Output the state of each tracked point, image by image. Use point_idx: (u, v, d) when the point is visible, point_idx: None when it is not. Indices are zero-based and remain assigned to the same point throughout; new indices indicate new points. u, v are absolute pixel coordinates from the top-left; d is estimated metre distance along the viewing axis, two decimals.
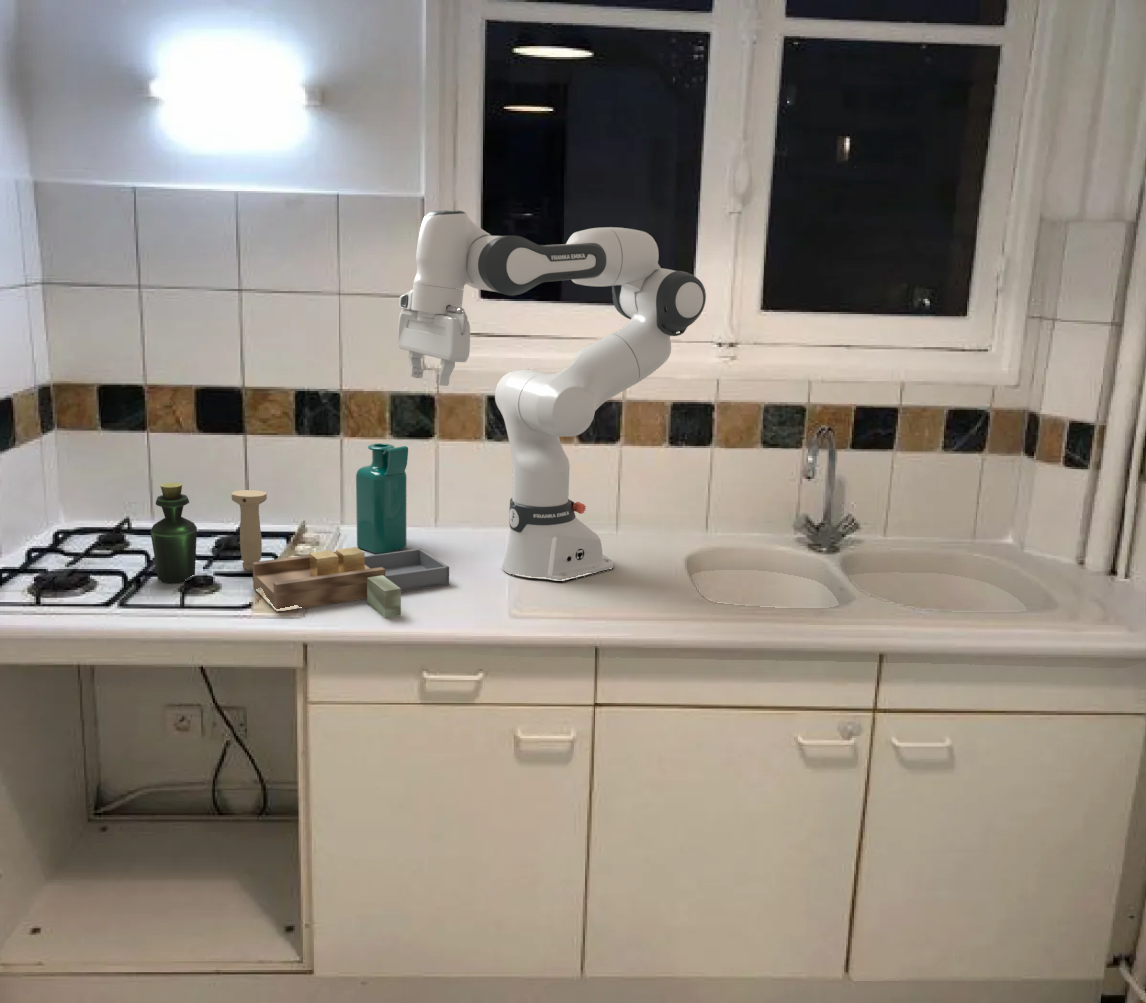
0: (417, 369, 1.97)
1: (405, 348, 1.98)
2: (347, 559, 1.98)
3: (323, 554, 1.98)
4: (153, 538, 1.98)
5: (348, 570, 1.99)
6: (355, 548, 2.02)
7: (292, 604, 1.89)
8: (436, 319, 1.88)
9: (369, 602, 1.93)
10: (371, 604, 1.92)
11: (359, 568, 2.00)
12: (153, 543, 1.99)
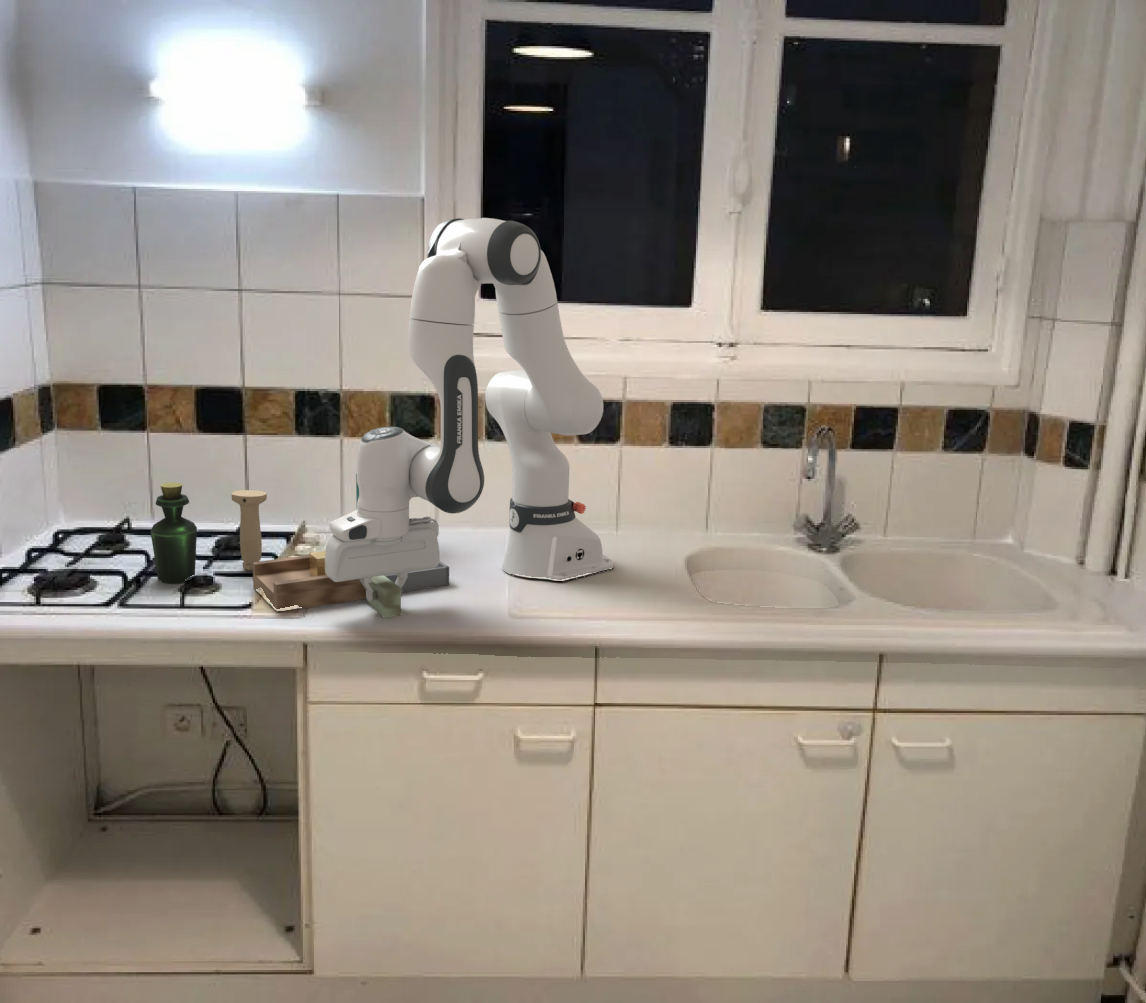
0: (376, 591, 1.89)
1: (350, 579, 1.85)
2: None
3: (323, 554, 1.98)
4: (153, 538, 1.98)
5: None
6: None
7: (292, 604, 1.89)
8: (406, 536, 1.88)
9: (369, 601, 1.93)
10: (371, 603, 1.92)
11: None
12: (153, 543, 1.99)
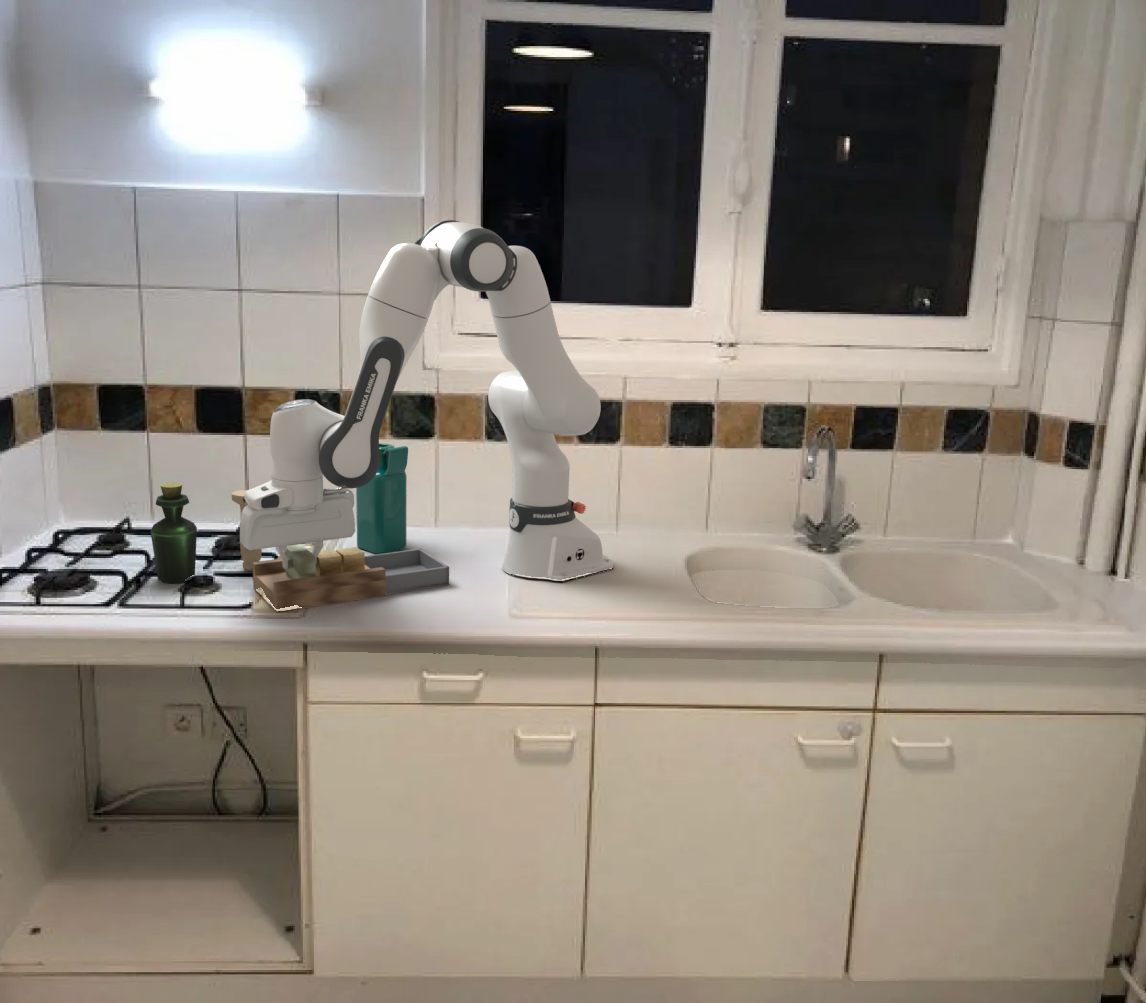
0: None
1: (264, 547, 1.89)
2: (347, 559, 1.98)
3: (326, 553, 1.98)
4: (153, 538, 1.98)
5: (348, 570, 1.99)
6: (355, 548, 2.02)
7: (292, 604, 1.89)
8: (321, 506, 1.93)
9: (287, 570, 1.98)
10: (288, 572, 1.97)
11: (359, 568, 2.00)
12: (153, 543, 1.99)
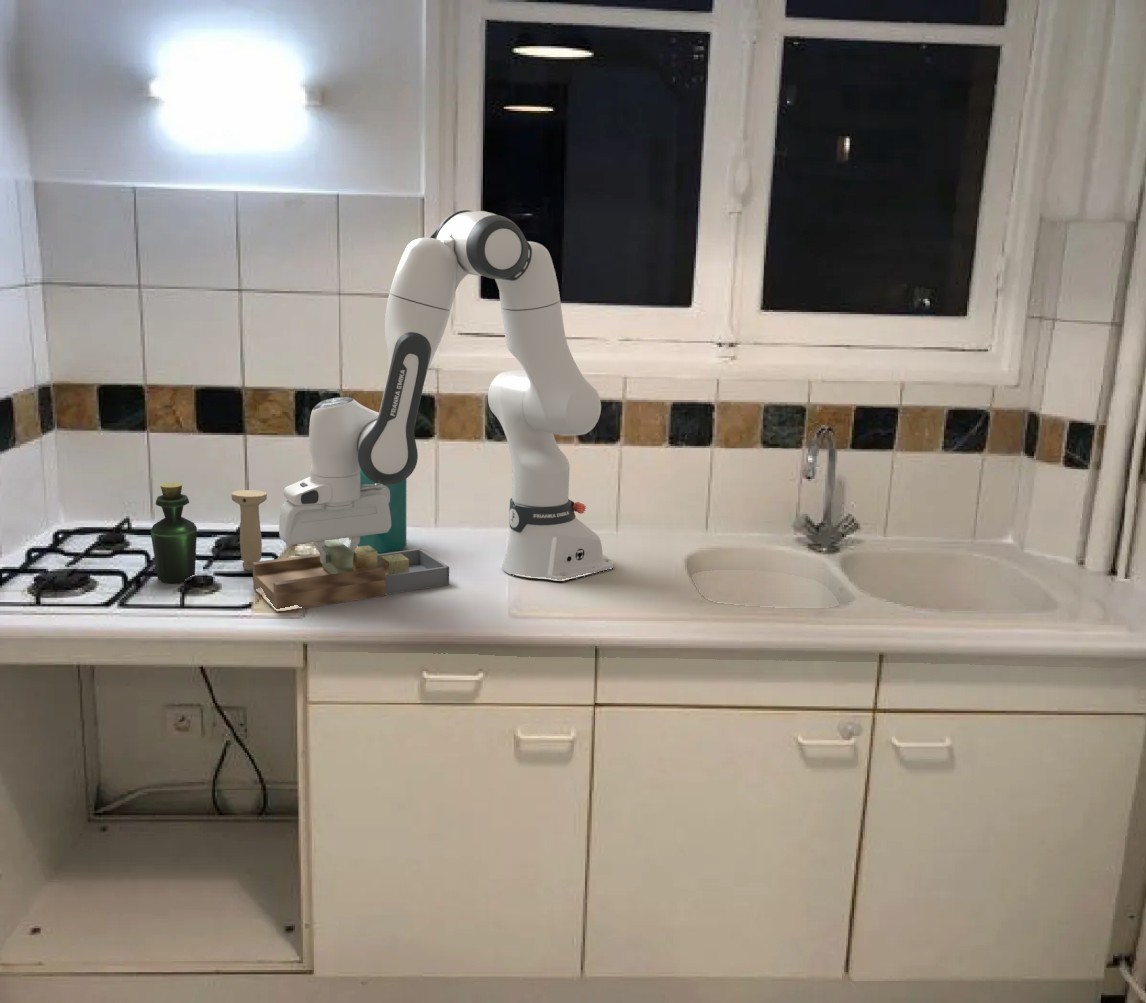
0: (329, 554, 1.98)
1: (303, 542, 1.93)
2: (404, 563, 2.04)
3: (362, 548, 2.02)
4: (153, 538, 1.98)
5: (394, 565, 2.03)
6: None
7: (292, 604, 1.89)
8: (358, 502, 1.97)
9: (324, 565, 2.01)
10: (325, 567, 2.00)
11: None
12: (153, 543, 1.99)
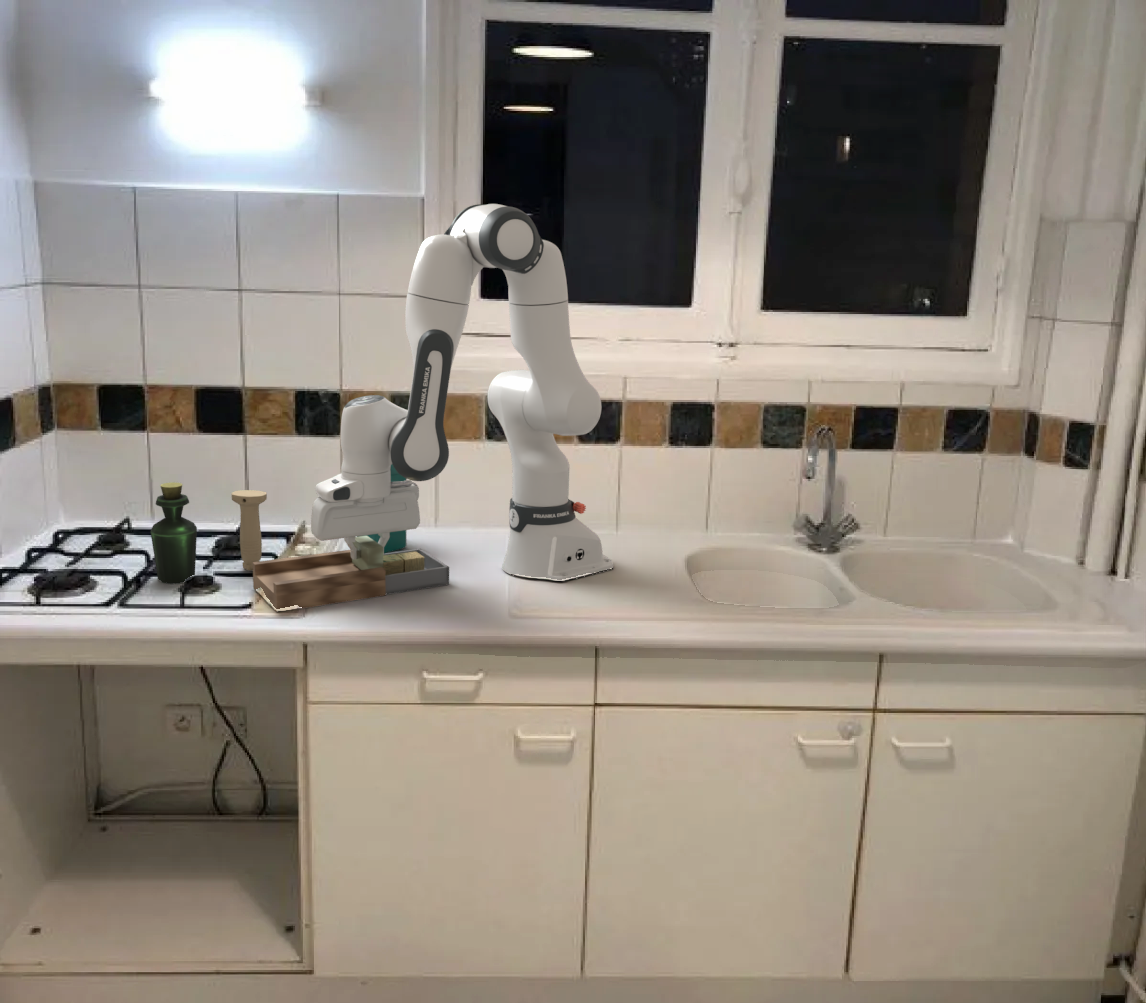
0: None
1: (334, 538, 1.96)
2: (420, 560, 2.06)
3: (388, 557, 2.05)
4: (153, 538, 1.98)
5: (409, 563, 2.05)
6: None
7: (292, 604, 1.89)
8: (388, 498, 2.00)
9: (354, 561, 2.04)
10: (355, 562, 2.03)
11: None
12: (153, 543, 1.99)
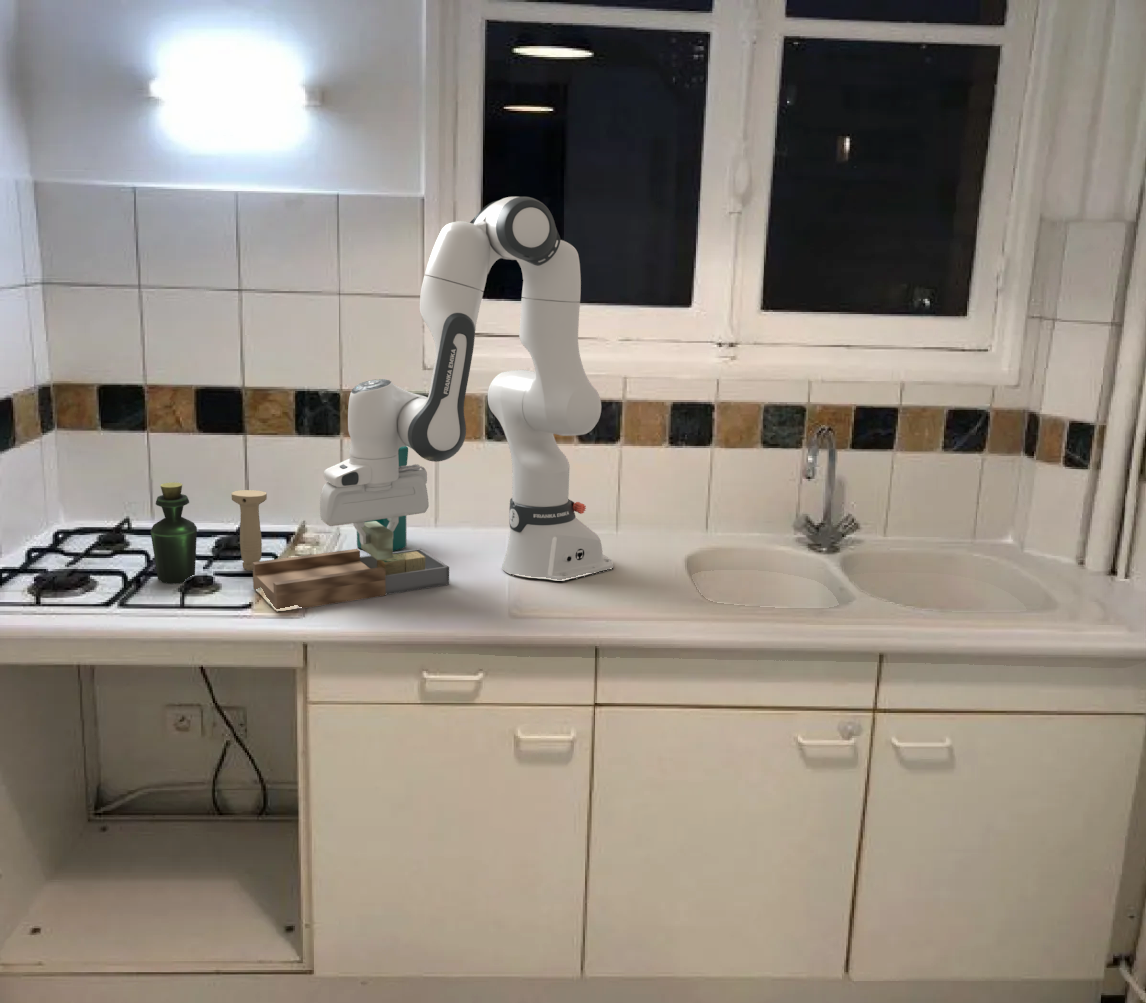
0: None
1: (344, 523, 1.96)
2: (421, 560, 2.06)
3: None
4: (153, 538, 1.98)
5: (410, 563, 2.05)
6: None
7: (292, 604, 1.89)
8: (396, 483, 2.00)
9: (363, 546, 2.04)
10: (365, 547, 2.03)
11: None
12: (153, 543, 1.99)
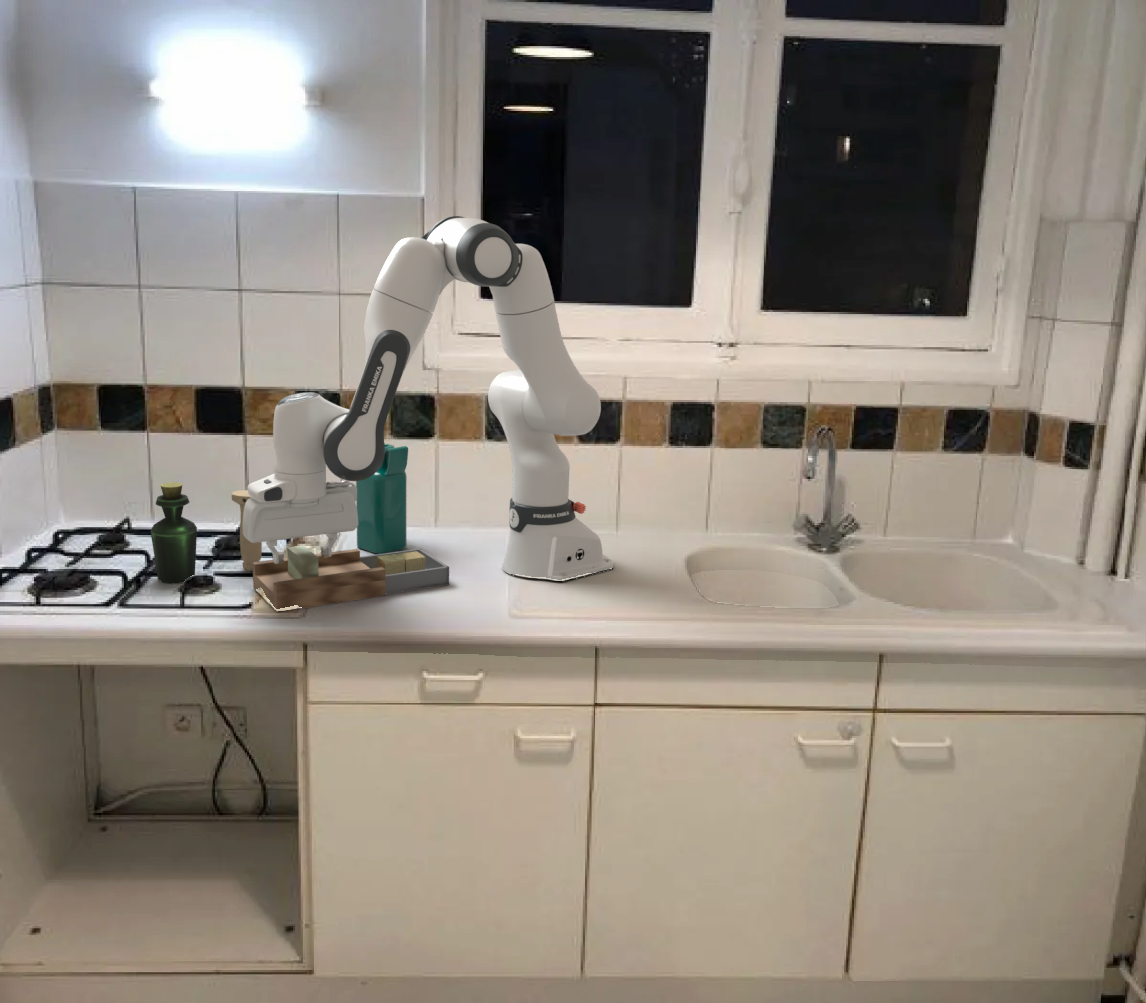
0: (282, 554, 1.93)
1: (267, 540, 1.89)
2: (421, 560, 2.06)
3: (390, 557, 2.05)
4: (153, 538, 1.98)
5: (410, 563, 2.05)
6: None
7: (292, 604, 1.89)
8: (324, 499, 1.93)
9: (289, 571, 1.98)
10: (291, 573, 1.97)
11: None
12: (153, 543, 1.99)
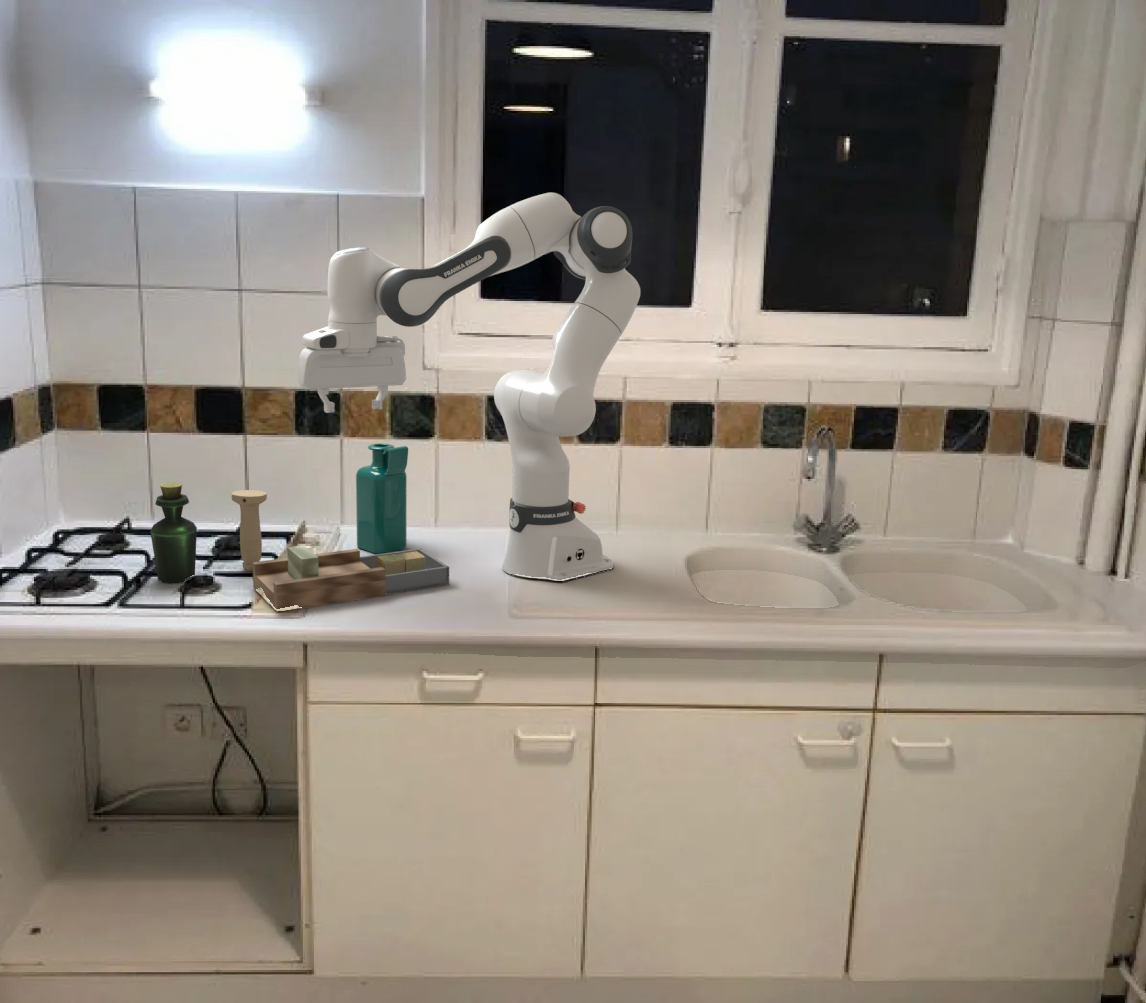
0: None
1: (321, 387, 1.99)
2: (421, 560, 2.06)
3: (390, 557, 2.05)
4: (153, 538, 1.98)
5: (410, 563, 2.05)
6: None
7: (292, 604, 1.89)
8: (374, 351, 2.03)
9: (289, 571, 1.98)
10: (291, 573, 1.97)
11: None
12: (153, 543, 1.99)
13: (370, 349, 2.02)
